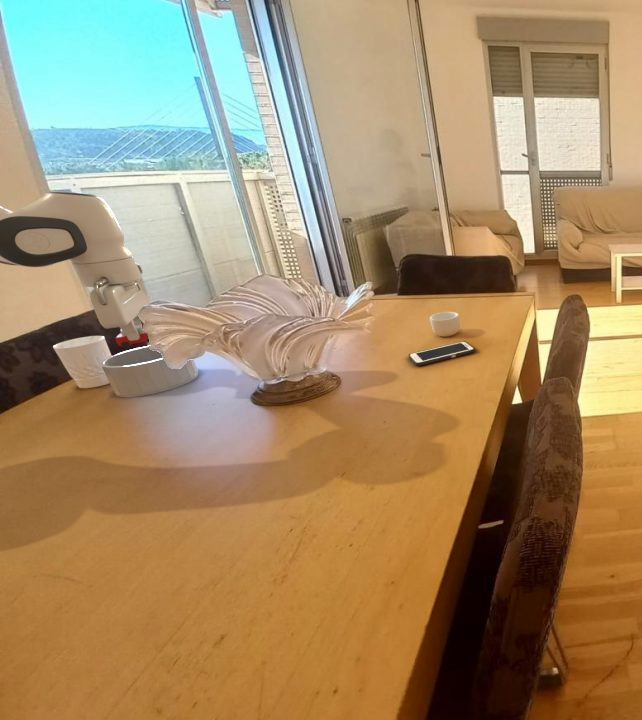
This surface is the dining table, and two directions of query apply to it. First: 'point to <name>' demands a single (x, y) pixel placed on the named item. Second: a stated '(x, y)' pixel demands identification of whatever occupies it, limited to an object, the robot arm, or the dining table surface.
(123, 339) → the toy car
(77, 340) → the white cup
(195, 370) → the gray bowl
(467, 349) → the cell phone
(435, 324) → the teacup
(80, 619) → the dining table surface
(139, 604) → the dining table surface
